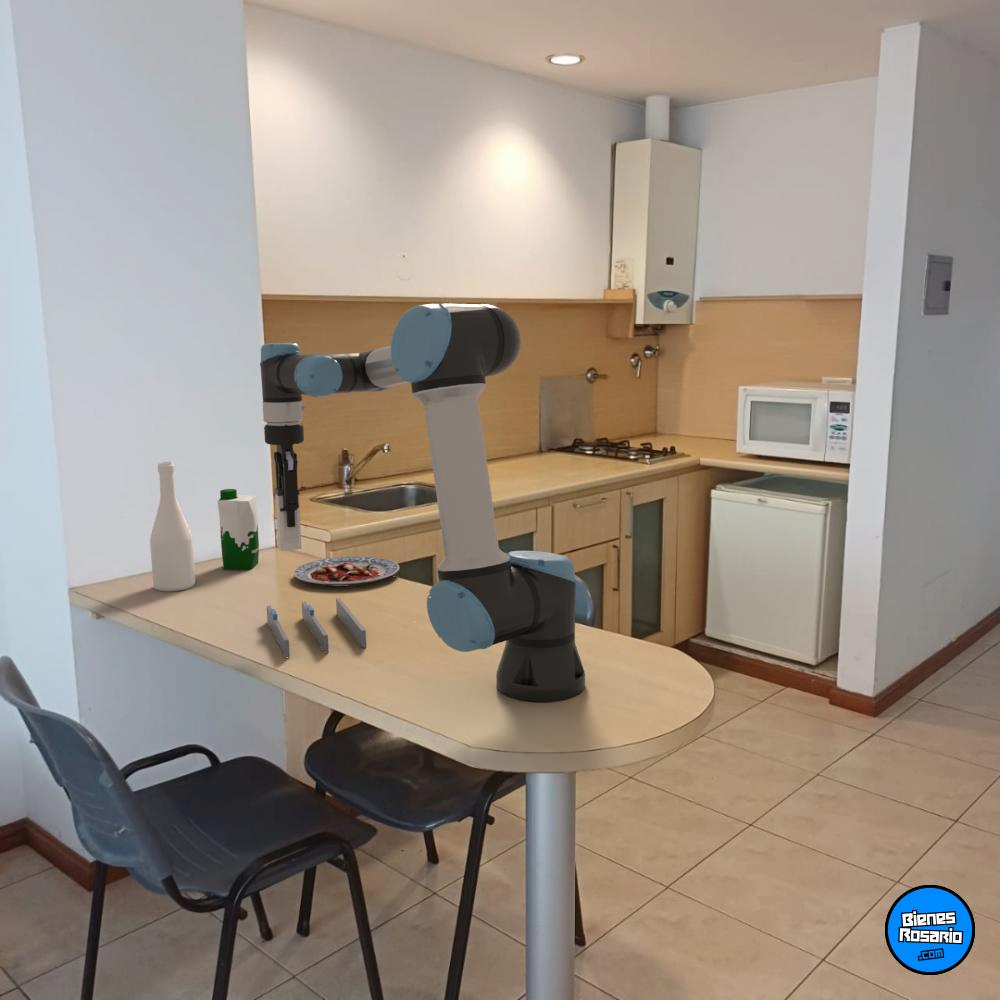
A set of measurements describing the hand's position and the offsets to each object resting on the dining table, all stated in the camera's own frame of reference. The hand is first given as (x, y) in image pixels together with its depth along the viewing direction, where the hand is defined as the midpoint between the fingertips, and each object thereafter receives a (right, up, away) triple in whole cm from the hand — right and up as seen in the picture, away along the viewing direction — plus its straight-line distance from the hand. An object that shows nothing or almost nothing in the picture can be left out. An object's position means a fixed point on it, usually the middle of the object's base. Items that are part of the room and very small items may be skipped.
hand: (289, 539), depth 193 cm
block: (0, -2, 0) cm, 2 cm away
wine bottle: (-35, -13, +37) cm, 53 cm away
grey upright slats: (+5, -19, +1) cm, 20 cm away
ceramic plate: (+4, -11, +45) cm, 47 cm away
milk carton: (-25, -9, +56) cm, 62 cm away
